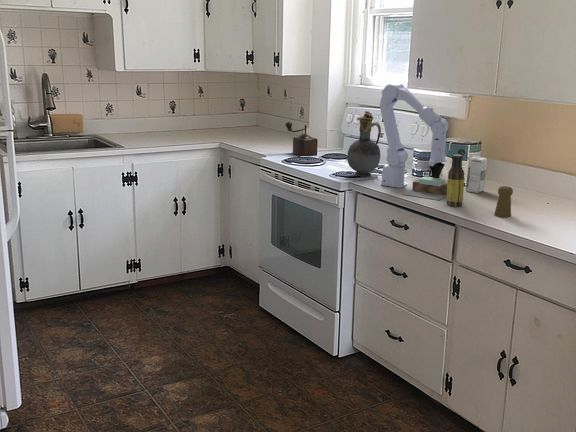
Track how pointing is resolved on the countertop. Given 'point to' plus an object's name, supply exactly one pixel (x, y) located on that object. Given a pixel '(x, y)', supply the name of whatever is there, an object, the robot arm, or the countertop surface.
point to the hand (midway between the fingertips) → (435, 180)
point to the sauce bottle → (455, 182)
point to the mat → (424, 195)
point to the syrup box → (476, 174)
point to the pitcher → (364, 148)
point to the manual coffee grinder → (303, 143)
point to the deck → (430, 188)
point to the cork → (504, 202)
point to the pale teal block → (432, 181)
